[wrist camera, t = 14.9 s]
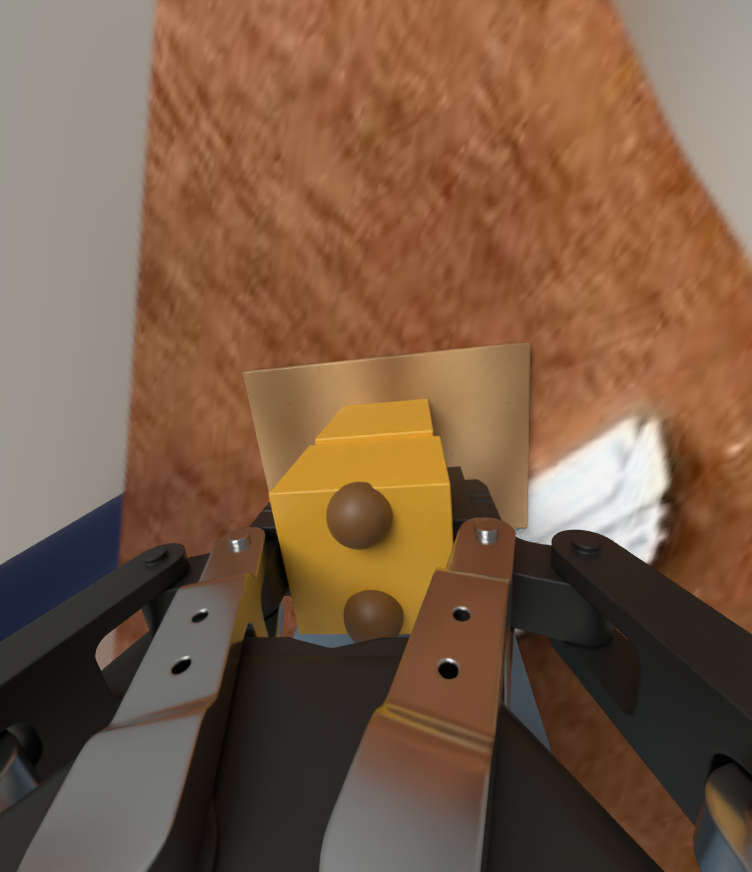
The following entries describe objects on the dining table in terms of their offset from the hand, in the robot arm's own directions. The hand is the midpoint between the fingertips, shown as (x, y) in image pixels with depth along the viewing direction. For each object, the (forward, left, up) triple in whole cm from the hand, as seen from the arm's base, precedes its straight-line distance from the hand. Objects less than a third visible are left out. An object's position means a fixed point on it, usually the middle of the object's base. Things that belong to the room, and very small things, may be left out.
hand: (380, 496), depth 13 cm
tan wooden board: (0, 0, -5) cm, 5 cm away
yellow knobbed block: (0, 0, -5) cm, 5 cm away
